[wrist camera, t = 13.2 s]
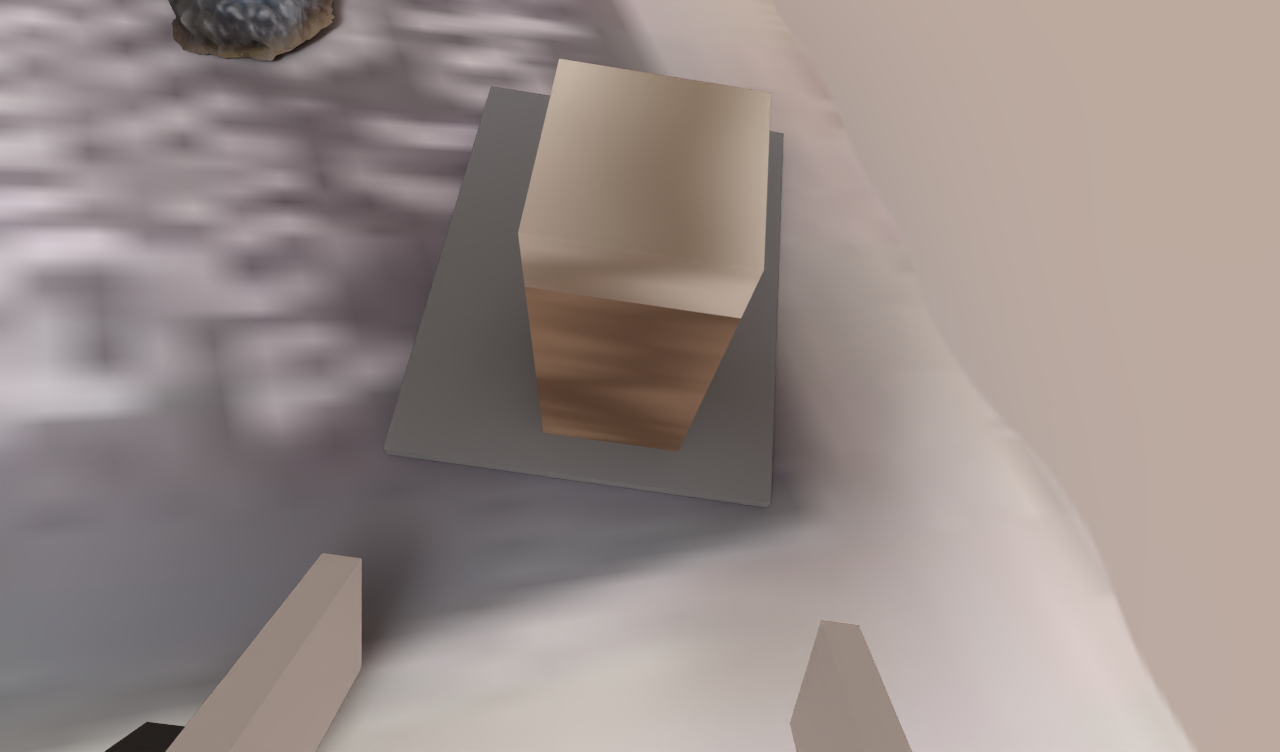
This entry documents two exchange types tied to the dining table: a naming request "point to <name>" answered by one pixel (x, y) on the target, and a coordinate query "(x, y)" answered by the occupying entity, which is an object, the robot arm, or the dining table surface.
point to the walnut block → (640, 247)
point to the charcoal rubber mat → (504, 363)
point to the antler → (248, 26)
